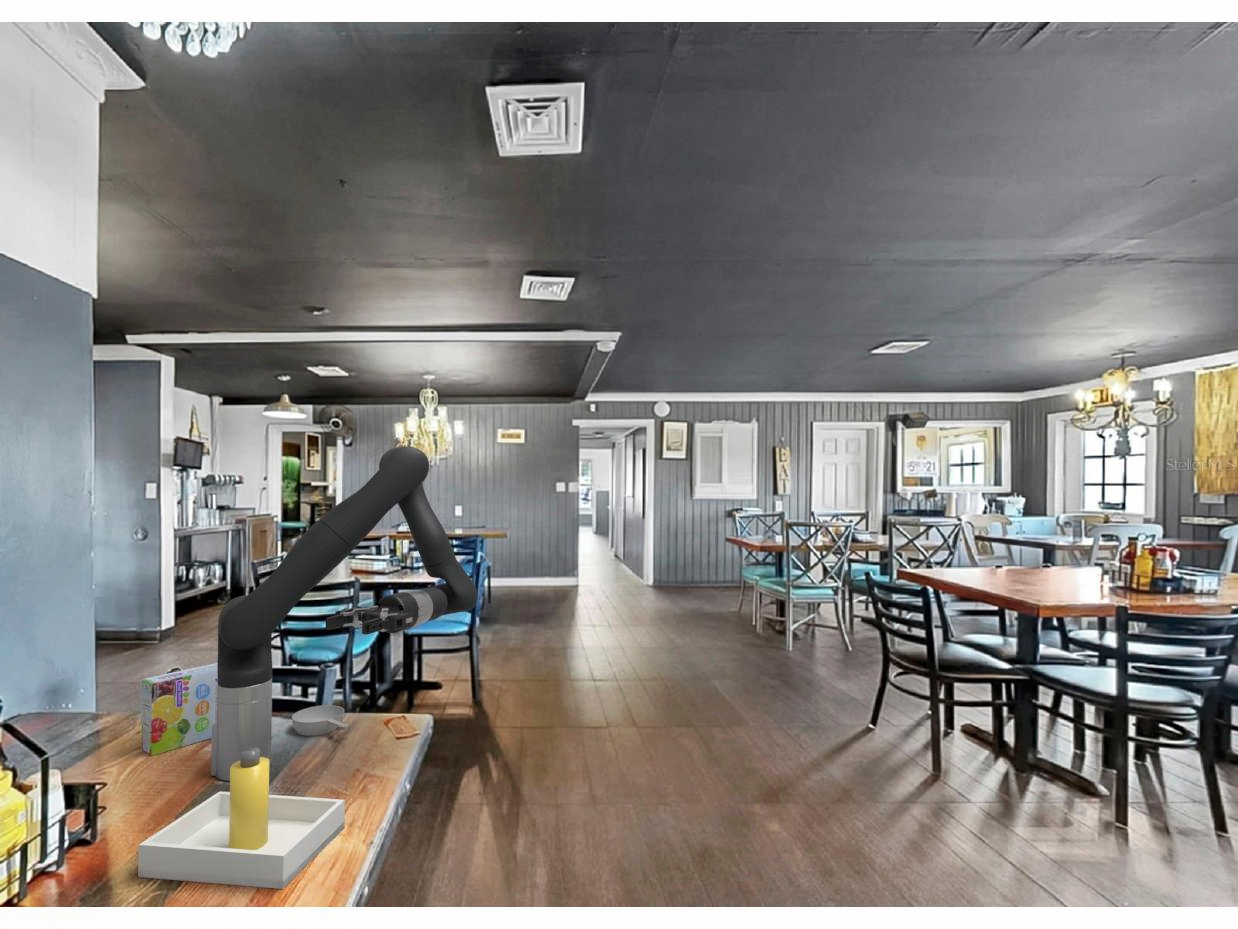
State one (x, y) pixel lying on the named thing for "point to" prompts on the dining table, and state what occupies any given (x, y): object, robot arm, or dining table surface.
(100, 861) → the dining table surface
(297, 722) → the small pan
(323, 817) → the tray
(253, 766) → the squeeze bottle
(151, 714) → the snack box
